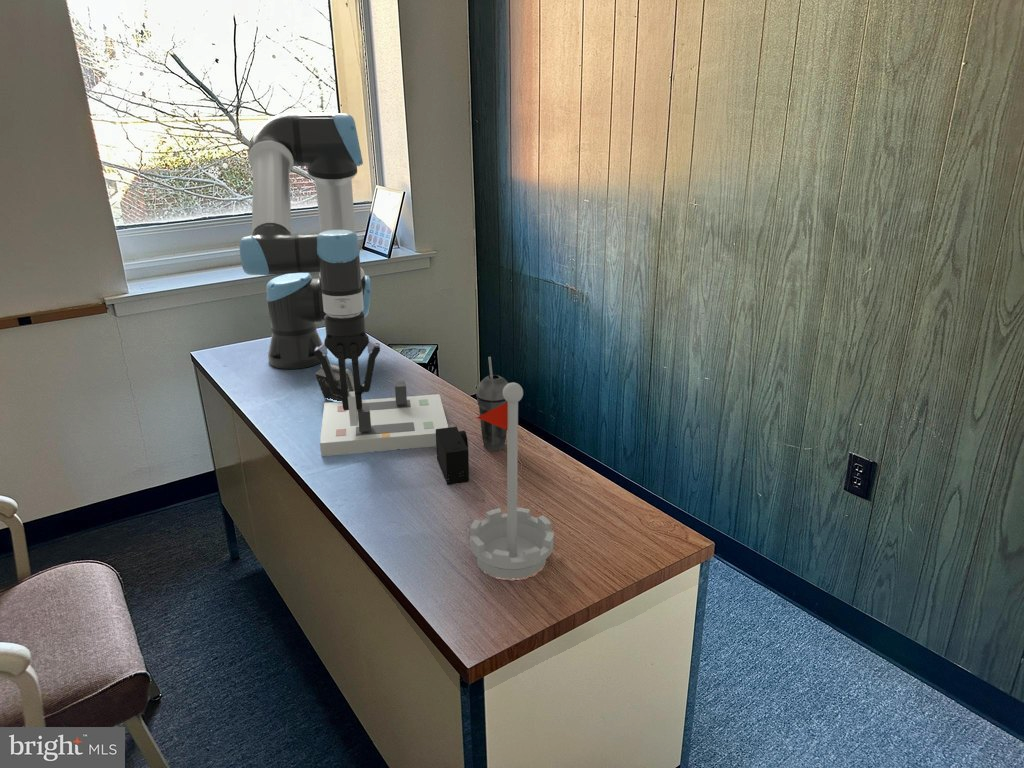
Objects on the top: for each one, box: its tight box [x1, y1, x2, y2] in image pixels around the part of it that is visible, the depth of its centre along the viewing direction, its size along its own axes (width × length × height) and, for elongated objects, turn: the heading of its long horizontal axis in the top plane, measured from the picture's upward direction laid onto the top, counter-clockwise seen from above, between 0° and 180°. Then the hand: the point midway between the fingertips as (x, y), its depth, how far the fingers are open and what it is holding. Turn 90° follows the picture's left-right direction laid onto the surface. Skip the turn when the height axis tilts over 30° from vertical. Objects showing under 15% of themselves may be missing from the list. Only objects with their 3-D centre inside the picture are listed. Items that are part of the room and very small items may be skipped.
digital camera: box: [435, 426, 470, 486], centre depth 134 cm, size 10×5×7 cm, turn 17°
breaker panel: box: [319, 393, 449, 457], centre depth 151 cm, size 20×26×3 cm
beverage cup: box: [475, 356, 509, 452], centre depth 141 cm, size 7×7×20 cm
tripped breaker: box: [358, 405, 371, 432], centre depth 143 cm, size 3×2×4 cm
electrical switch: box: [314, 363, 355, 401], centre depth 163 cm, size 9×5×9 cm, turn 57°
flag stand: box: [469, 382, 555, 579], centre depth 104 cm, size 13×13×30 cm
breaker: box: [393, 380, 408, 405], centre depth 155 cm, size 3×2×4 cm
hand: (354, 423), depth 143 cm, fingers closed
